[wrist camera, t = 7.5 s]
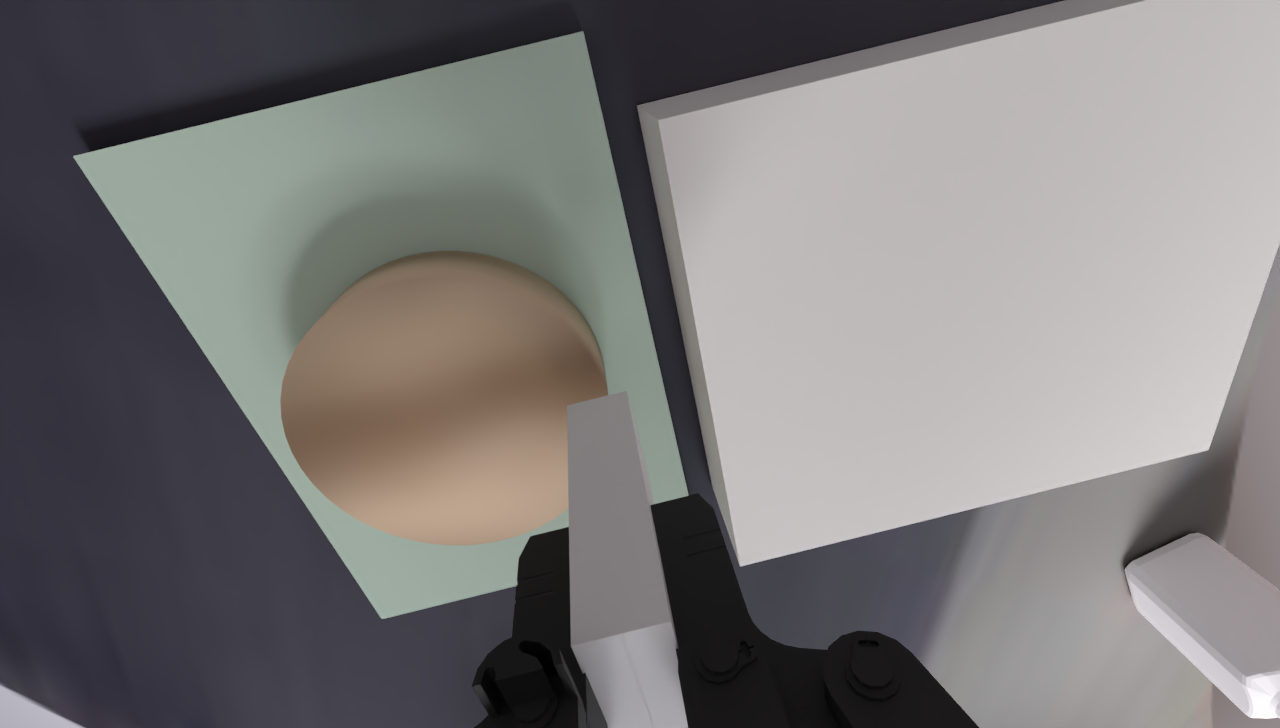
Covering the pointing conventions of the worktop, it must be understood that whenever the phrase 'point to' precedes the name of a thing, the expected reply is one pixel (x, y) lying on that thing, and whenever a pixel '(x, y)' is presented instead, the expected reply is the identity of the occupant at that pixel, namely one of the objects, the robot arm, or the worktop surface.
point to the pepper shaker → (1214, 617)
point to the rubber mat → (393, 251)
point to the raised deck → (969, 259)
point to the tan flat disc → (442, 398)
